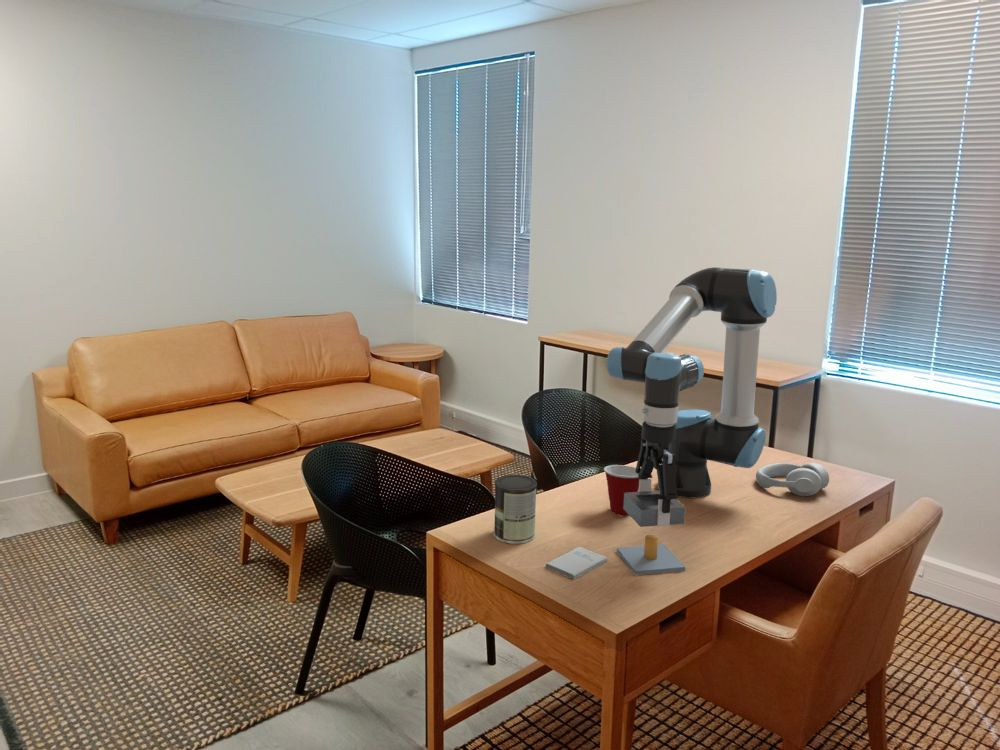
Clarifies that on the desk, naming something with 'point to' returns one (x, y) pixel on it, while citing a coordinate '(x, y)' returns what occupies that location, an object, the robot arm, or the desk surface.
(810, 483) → the headphones
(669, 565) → the keeper
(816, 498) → the desk surface
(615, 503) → the plastic cup
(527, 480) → the coffee can
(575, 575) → the external hard drive
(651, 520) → the gray square socket block
